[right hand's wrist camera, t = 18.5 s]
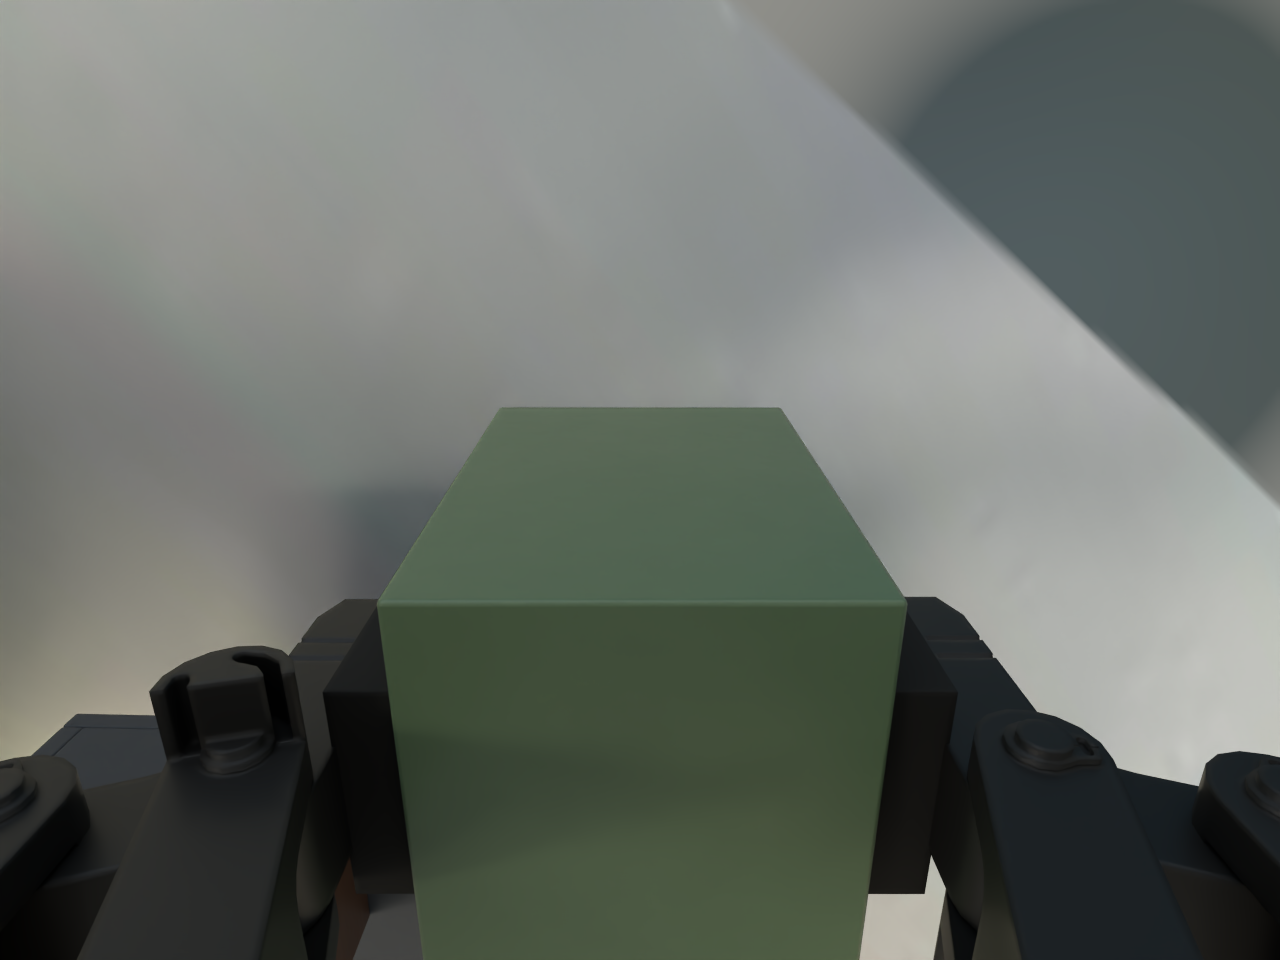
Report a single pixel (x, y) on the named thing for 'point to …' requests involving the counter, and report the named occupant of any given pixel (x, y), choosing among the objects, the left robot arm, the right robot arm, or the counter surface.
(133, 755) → the tray
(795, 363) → the counter surface
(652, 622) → the sage block
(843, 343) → the counter surface
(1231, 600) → the counter surface
